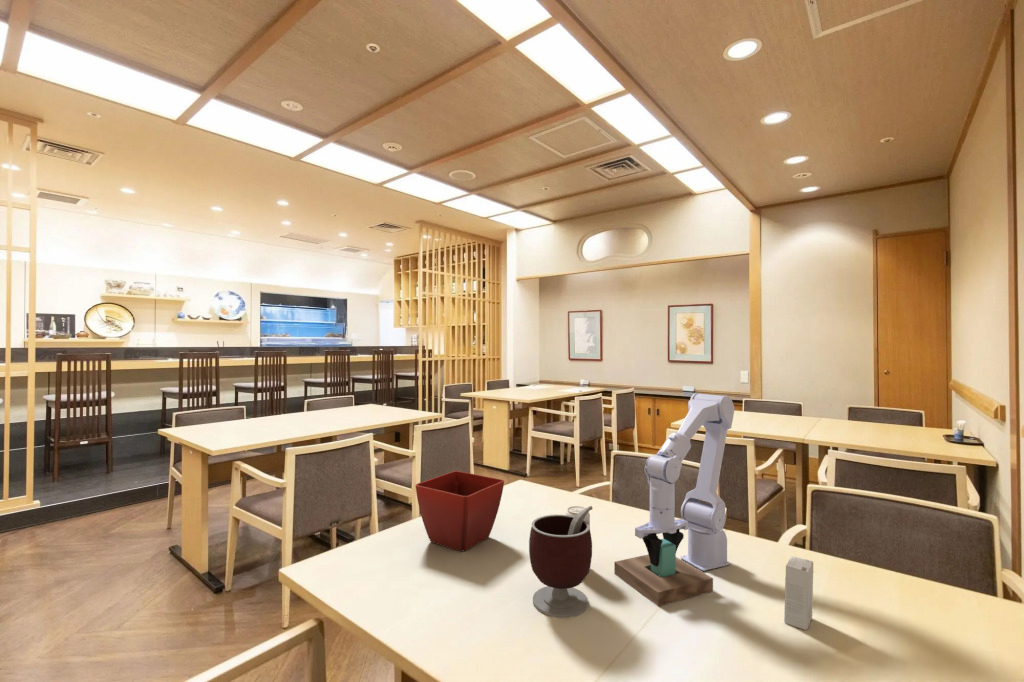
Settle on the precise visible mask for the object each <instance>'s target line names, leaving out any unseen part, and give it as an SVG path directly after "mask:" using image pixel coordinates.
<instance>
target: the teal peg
mask: <svg viewBox="0 0 1024 682" xmlns="http://www.w3.org/2000/svg"><path fill="white" fill-rule="evenodd" d="M660 539H661V540H662V541H663V542H662V544H661V547H660V553H659V565H658V566H654V565H653V564H651V571H653V572H654V573H656V574H657V575H658V576H659V577H660V578H662V577H666V576H670V575H674V574H675V573H676V557H677V556H676V555H677V551H676V545H675V544H673V543H671V542H669V541H667V540H665V539H663V538H660Z"/></svg>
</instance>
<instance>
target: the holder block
mask: <svg viewBox="0 0 1024 682" xmlns="http://www.w3.org/2000/svg"><path fill="white" fill-rule="evenodd" d="M613 569H614V571H613V572H614V575H616V576H617V577H618V578H619V579H621V580H622V581H623V582H625V584H627V585H629V586H630V587H631V588H633V589H634V590H636V591H637V592H638V593H640V594H641V595H642V596H644V597H645V598H646V599H648V600H649V601H650V602H652V603H653V604H655V605H656V607H660V606H664V605H668V604H671V603H675V602H679V601H682V600H686V599H689V598H692V597H693V598H694V597H696V596H697V597H698V596H699V595H700V596H701V595H704V594H708V593H712V592H714V577H711V576H710V575H708V574H706V573H704V571H702V570H700V569H698V568H696V567H695V566H693V565H691V564H689V563H688V562H686V561H684V560H682V559H681V558H679V557H677V556H676V573H675V574H674V575H670V576H666V577H660V576H659V575H657V574H656V573H654V572H653V571H651V563H650V558H649V554H645V555H640V556H633V557H631V558H626V559H621V560H617V561H614V568H613Z"/></svg>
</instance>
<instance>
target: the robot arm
mask: <svg viewBox="0 0 1024 682" xmlns="http://www.w3.org/2000/svg"><path fill="white" fill-rule="evenodd" d="M687 403H688V404H687V405H688V406H687V407H688V413H687V414H686V416H685V418H684V419H683V421H682V423H681V424H680V427H679V428H678V430H677V432H672V433H670V434H669V436H668V437H667V438H666V440H665V441H664V443H663V444H662V446H660V449H659V450H658V452H657V453H656V454H652V455H651V456H649V457H648V458H647V459H646V461H645V465H644V474H645V476H646V478H647V484H648V486H649V521H648V522H646V523H644V524H642V525H639V526H636V527H634V536H635V537H637V538H639V539H640V540H641V539H642V541H643V543H644V544H645V545H644V546H645V548H646V551H647V553H648V554H649V558H650V563H651V564H653V565H654V566H658V565H659V553H660V547H661V544H662V542H663V541H662V540H661V539H665V540H667V541H669V542H671V543H673V544H675V545H676V552H677V551H678V548H679V547H680V544H681V542H682V540H684V535H685V534H684V533H683V532H681V531H680V530H684V531H686V530H687V537H688V538H687V542H688V543H687V550H688V551H687V554H686V555H683V556H680V560H682V561H684V562H685V563H687V564H689V565H691V566H692V567H694V568H696V569H698V570H699V571H701V572H705V571H709V570H714V569H717V568H721V567H725V566H726V567H727V566H728V565H730V564H731V563H730V562H729V561H728V537H727V533H726V532H725V530H724V527H725V525H726V520H727V519H726V503H725V502H724V500H723V499H722V498H721V496H719V494H718V493H717V491H718V486H719V481H720V476H721V474H720V473H721V470H722V463H723V458H724V452H725V445H726V440H727V434H728V430H730V429H731V428H732V425H733V420H734V414H735V408H736V407H735V406H734V402H733V400H732V398H731V397H730V396H729V395H717V394H710V393H709V394H707V393H700V392H694V393H693V394H692V395H691V397H690V400H688V402H687ZM702 426H703V427H704V430H705V435H704V440H703V446H702V452H701V458H700V463H699V470H698V474H697V479H696V486H695V488H694V489H692V490H690V491H688V492H686V493H685V497H684V500H683V502H682V505H681V508H680V515H681V516H680V517H681V519H680V518H679V519H676V518H675V511H676V510H675V505H676V504H675V495H676V493H675V491H676V490H675V489H676V488H675V487H676V486H675V483H676V482H677V480H679V477H680V474H681V468H682V467H683V463H682V462H683V461H684V459H685V457H687V454H688V453H689V451H690V450H691V448H692V443H691V440H692V439H693V437H694V436H695V435H696V434H697V432H698V431H699V430H700V428H702ZM701 501H704V502H701ZM659 534H662V537H663V538H659V536H658V535H659ZM648 554H647V555H648Z"/></svg>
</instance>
